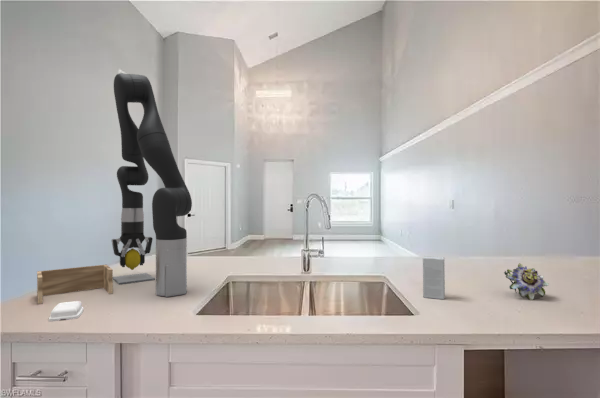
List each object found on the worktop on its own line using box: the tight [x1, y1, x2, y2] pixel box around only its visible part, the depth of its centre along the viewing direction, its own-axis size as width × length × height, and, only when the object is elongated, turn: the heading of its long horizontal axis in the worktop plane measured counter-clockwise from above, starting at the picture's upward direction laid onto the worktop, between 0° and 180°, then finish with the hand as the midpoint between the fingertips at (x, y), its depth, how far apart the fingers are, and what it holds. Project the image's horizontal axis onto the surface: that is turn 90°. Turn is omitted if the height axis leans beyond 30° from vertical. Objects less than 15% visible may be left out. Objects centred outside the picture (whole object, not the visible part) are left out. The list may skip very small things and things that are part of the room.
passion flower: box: [503, 262, 550, 301], centre depth 111 cm, size 11×11×12 cm
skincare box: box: [422, 255, 446, 300], centre depth 110 cm, size 6×4×12 cm
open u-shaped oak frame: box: [36, 264, 114, 305], centre depth 112 cm, size 11×19×8 cm, turn 127°
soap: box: [48, 300, 84, 322], centre depth 93 cm, size 9×7×3 cm
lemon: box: [124, 247, 141, 271], centre depth 133 cm, size 6×6×8 cm
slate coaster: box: [113, 272, 156, 285], centre depth 134 cm, size 12×12×1 cm
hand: (132, 265), depth 133 cm, fingers closed on lemon, 5 cm apart
